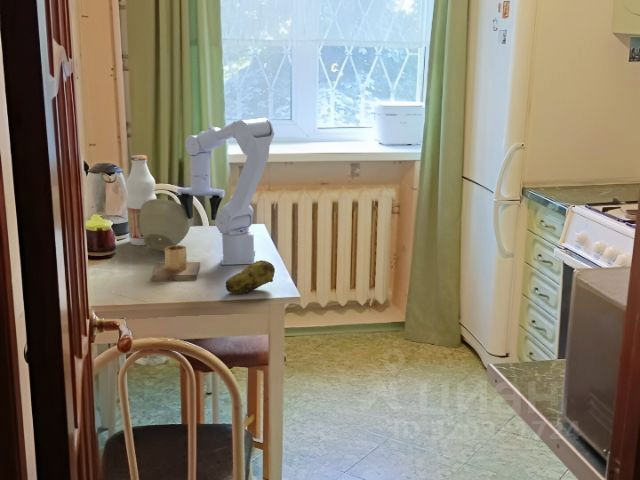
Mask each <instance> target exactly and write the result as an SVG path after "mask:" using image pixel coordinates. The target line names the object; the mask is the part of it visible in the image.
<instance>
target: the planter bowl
mask: <svg viewBox="0 0 640 480" xmlns="http://www.w3.org/2000/svg"><path fill="white" fill-rule="evenodd" d="M192 223H193V218H191V219H188V215H187V212H186V209H185V207H184V205H183V204H180V203H178V202H177V201H174V200H173V201H172V200H169V199H165V198H157V199H153V200H149V201H147V202H145V203H144V204H143V205H142V207H141V210H140V219H139V224H140V229H141V233H142V235H143V237H144V242H145V244H146V245H145V246H147V247H149V249H150V248H151V249H152V250H155V251H159V252H165V248H166V247H168V246H172V245H179V243H181V242H182V241H183V240H184V239H185V237H186V236H187V234H188V232H189V231H190V227H191V225H192Z"/></svg>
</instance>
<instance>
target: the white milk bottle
mask: <svg viewBox="0 0 640 480" xmlns="http://www.w3.org/2000/svg"><path fill="white" fill-rule="evenodd" d="M130 161H131V164H132V165H131V168H130V173H129V175H128V176H127V179H126V182H125V187H126V191H127V196H126V197H127V198H126V211H127V222H128V223H127V224H128V238H129V242H130V244H131V245H133V246H140V245H141V246H142V245H143V246H147V245H146V244H145V242H144V237H143V235H142V233H141V229H140V224H139V219H140V210H141V207H142V205H143V204H144V203H145V202H147V201H149V200H153V199H158V198H157V195H156V194H155V193H156V192H155V190H156V180H155V178H154V177H153V175H152V174H151V171H150V170H149V167H148V163H147V162H148V157H147V155H145V154H136V155H132V156H131V157H130Z"/></svg>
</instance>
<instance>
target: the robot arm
mask: <svg viewBox="0 0 640 480" xmlns="http://www.w3.org/2000/svg"><path fill="white" fill-rule="evenodd" d="M274 136H275V132H274V129H273V125H272V123H271V121H270V119H268V118H266V117H260V118H254V119H243V120H242V119H239V120H237V121H233V122H231V123H229V124H228V125H225V126H223V127H222V128H221V127H216V126H209V127H208V128H207V130H206V131H199V132H198V134H195V135H193V134H192V135H189V136H188V137H186V139H185V143H184V144H185V145H184V146H185V150H186V152H187V153H188V154H189V163H190V165H189V167H190V183H191V184H190V185H191V187H178V188H177V196H180V197H179V199H180V202H181V203H182V206H184V207H185V209H186V212H187V215H188V219H191V218H192V219H193V218H194V209H193V208H194V207H193V205H194V196H204V197H210V198H208V199H209V205H210V218H211V219H210V220H211V221H215V226H216V228H217V230H218V232H219V233H220V234H221V237H222V239H221V240H222V241H221V242H222V255H221V256H222V257H221V264H220V265H222V266H225V265H229V266H230V265H251V264H253V263H254V262H255V257H256V250H255V243H254V242H255V240H254V239H255V237H254V236H255V235H254V231H250V230H249V229H250V228H251V226H252V224H253V216H254V213H255V212H254V211H255V210H254V209H253V206H252V205H251V202H252V200H253V198H254V195H255V193H256V190H257V188H258V186H259V183H260V180H261V178H262V175H263V173H264V171H265V168H266V165H267V163H268V160H269V155H270V146H271V143H272V141H273V139H274ZM232 138H233V139H235V141H236V143H237V144H238V146H239V148H240V150H241V152H242V153H243V155H245V156H246V160H245V162H244V164H243V167H242V169H241V172H240V175H239V178H238V181H237V183H236V186H235V188H234V191H233V192H232V193H233V194H232V196H231V199H230V200H229V201H228V202H227V203H225V204H224V205H223V206H222V207H221V209H220V211H219V212H218V210H219V207H220V204H221V202H222V200H223V198H224V197H225V196H226V194H225V193H226V191H225V189H219V188H213V187H211V167H210V165H211V164H210V160H211V158H212V152H213V151H214V150H216V149H217V148H218V149H219V148H220V147H223V146H224V145H225V143H226V140H229V139H232Z"/></svg>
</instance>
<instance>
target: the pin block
mask: <svg viewBox="0 0 640 480" xmlns="http://www.w3.org/2000/svg"><path fill="white" fill-rule="evenodd" d="M200 270H201V262H200V261H191V262H190V261H187V269H186V270H183V271H180V272H170V271H167V270H166V264H165V262H157V264H156V266H155V268H154V271H153V272H152V275H151V281H152V282H160V281H167V280H169V281H197V279H198V276H199V271H200Z"/></svg>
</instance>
